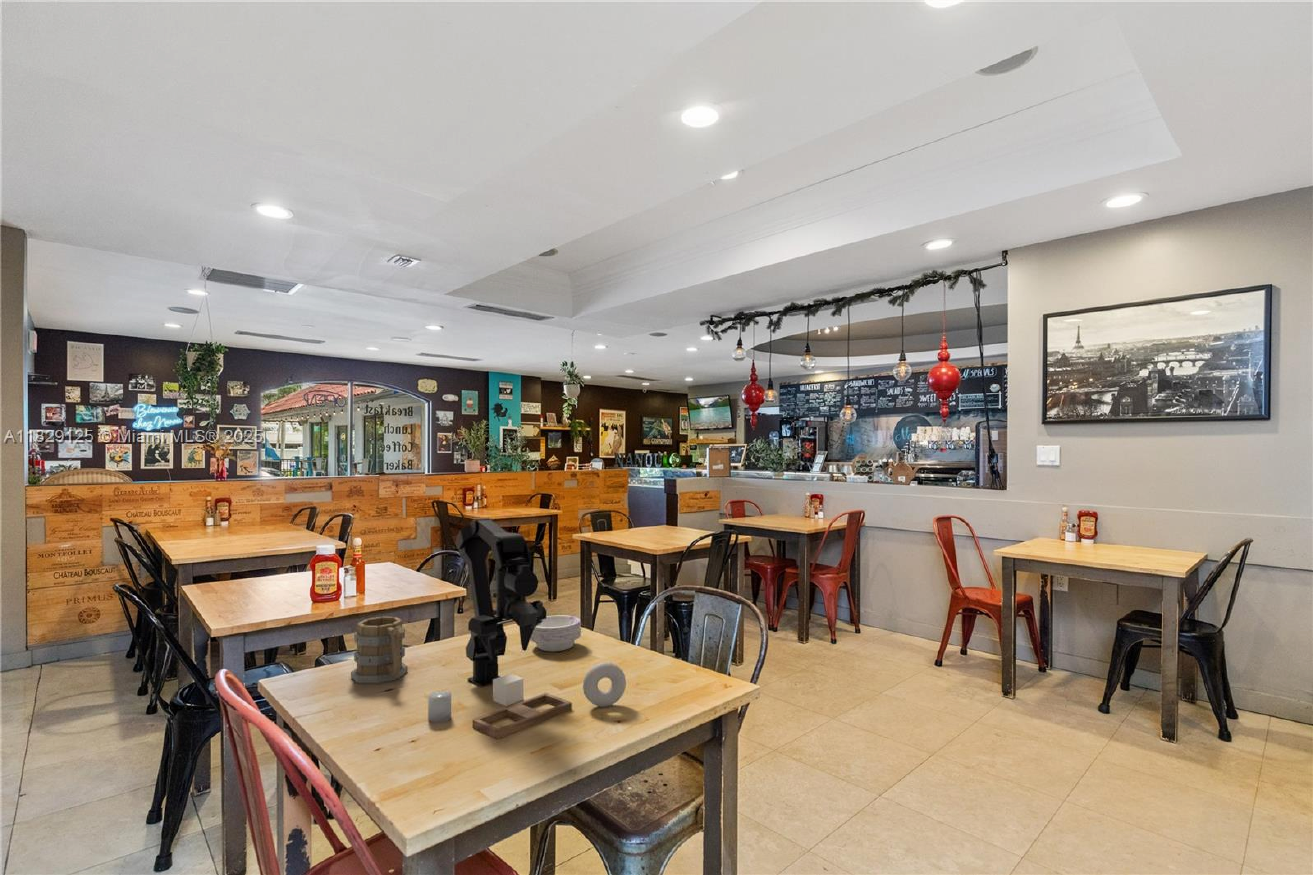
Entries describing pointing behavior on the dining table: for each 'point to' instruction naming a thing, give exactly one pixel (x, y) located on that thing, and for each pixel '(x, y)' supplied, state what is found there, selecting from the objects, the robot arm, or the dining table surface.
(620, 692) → the donut
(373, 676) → the tankard
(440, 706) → the salt cellar
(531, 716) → the walnut caddy
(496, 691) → the white rounded cube
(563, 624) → the paper bowls
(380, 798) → the dining table surface
